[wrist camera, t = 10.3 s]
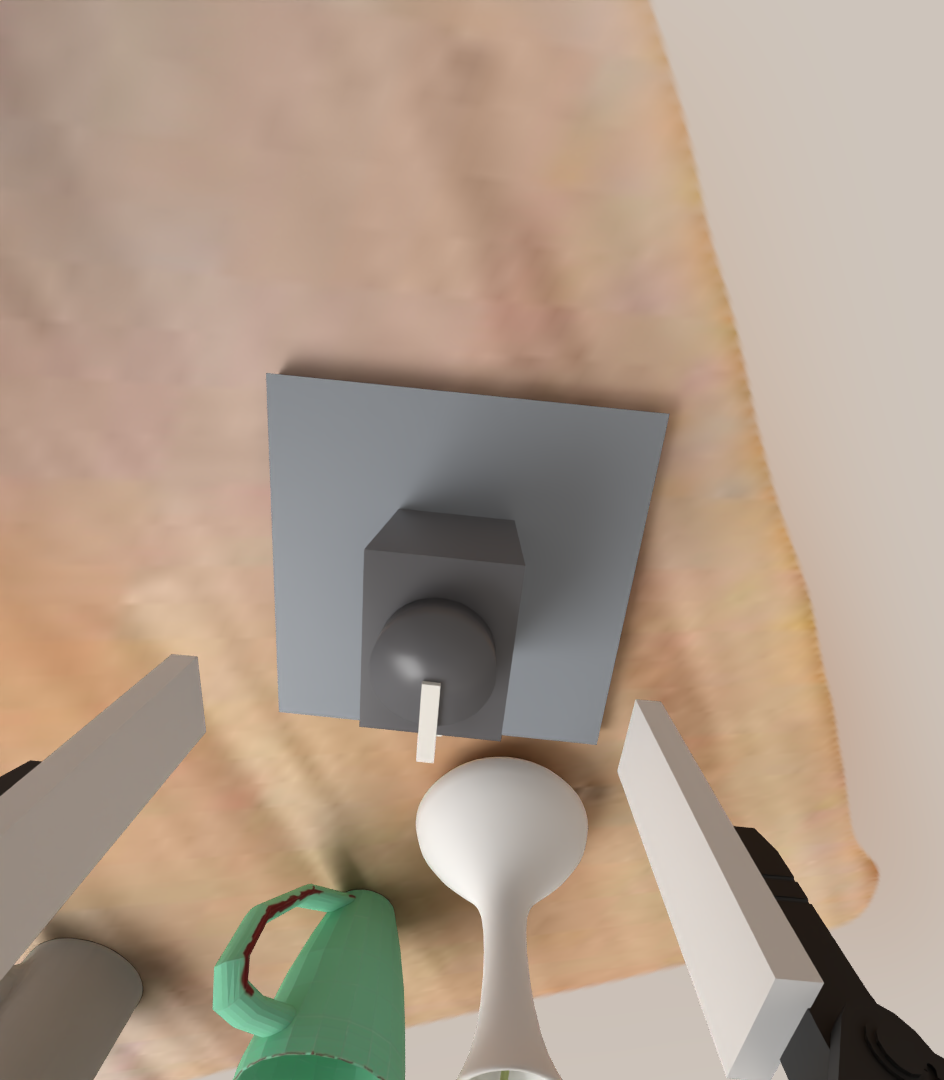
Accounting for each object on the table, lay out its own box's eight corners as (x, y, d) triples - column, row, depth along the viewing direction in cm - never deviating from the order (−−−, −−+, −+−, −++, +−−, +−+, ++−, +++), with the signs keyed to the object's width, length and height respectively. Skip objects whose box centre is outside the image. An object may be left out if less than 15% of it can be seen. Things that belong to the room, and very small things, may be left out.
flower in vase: (602, 757, 29) (1120, 2324, 5) (558, 879, 33) (755, 2180, 9) (410, 720, 29) (43, 2218, 5) (385, 847, 32) (94, 2112, 8)
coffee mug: (164, 1004, 38) (57, 1203, 29) (69, 1022, 40) (-64, 1218, 30) (80, 898, 35) (-74, 1084, 25) (-22, 922, 36) (-205, 1107, 27)
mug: (450, 928, 34) (436, 1128, 25) (351, 969, 36) (303, 1171, 27) (337, 802, 31) (271, 977, 22) (234, 854, 33) (130, 1037, 23)
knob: (399, 508, 24) (350, 564, 15) (514, 520, 23) (529, 582, 15) (392, 643, 26) (347, 756, 18) (497, 654, 26) (501, 772, 18)
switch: (277, 374, 23) (211, 365, 17) (660, 413, 23) (714, 415, 17) (287, 706, 29) (241, 775, 23) (590, 737, 29) (615, 814, 23)
